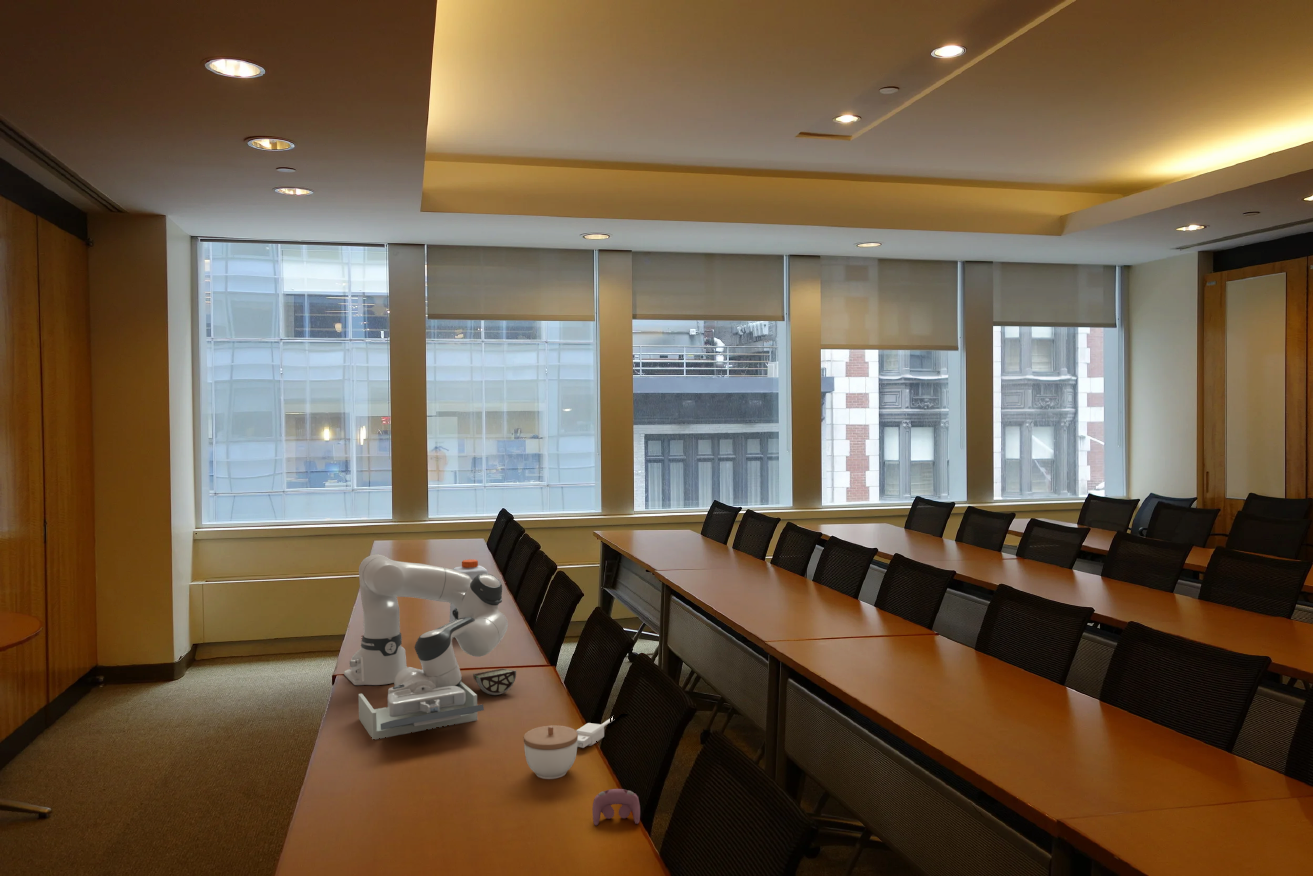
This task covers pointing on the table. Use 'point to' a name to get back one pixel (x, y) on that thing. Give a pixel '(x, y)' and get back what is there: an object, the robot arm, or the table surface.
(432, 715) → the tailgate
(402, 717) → the tray
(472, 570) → the plastic bottle
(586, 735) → the charging cable
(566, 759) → the lidded bowl
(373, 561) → the robot arm
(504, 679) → the food container
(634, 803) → the video game controller
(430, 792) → the table surface
